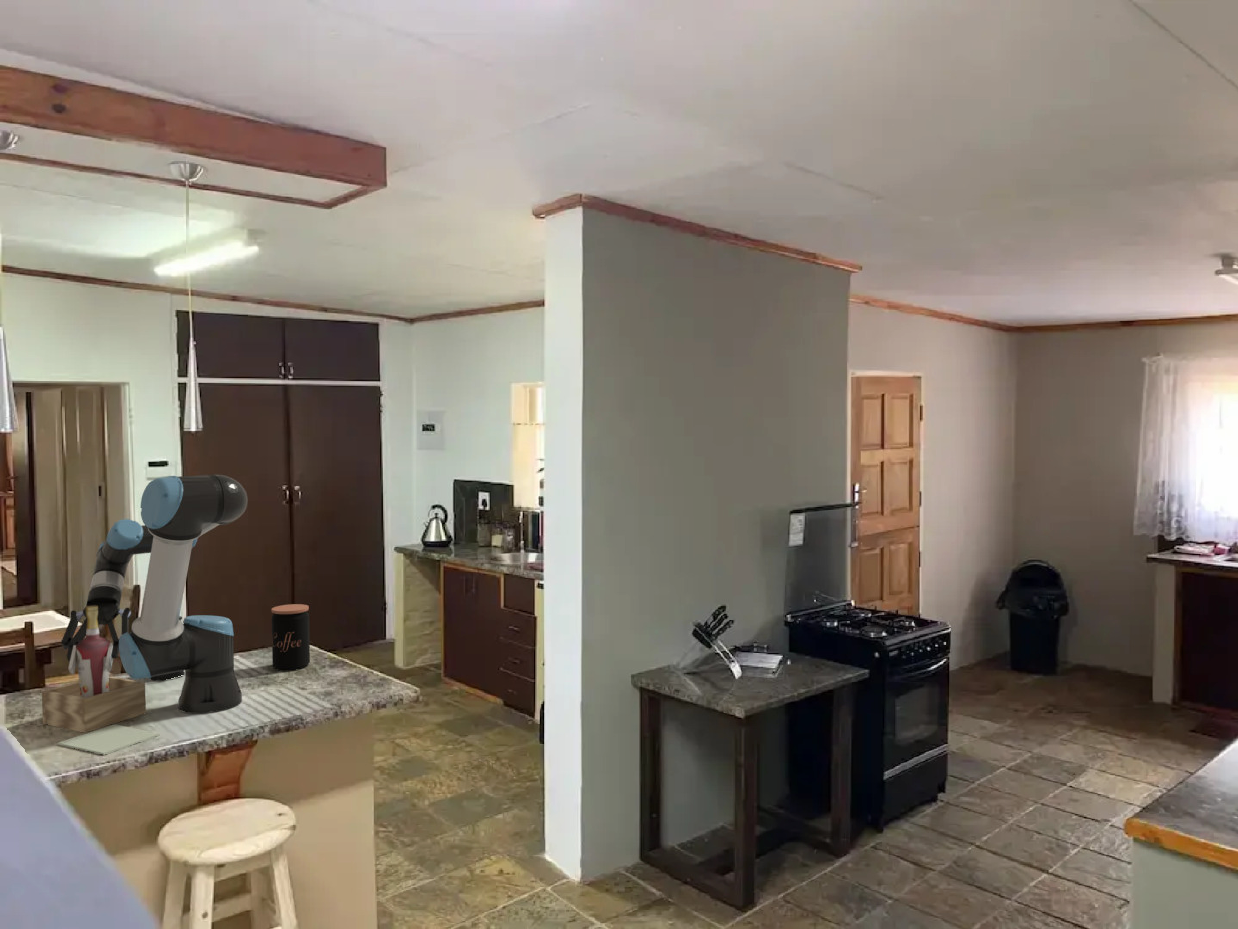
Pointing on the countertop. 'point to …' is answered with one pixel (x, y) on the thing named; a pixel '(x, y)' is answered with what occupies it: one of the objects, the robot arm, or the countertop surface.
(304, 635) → the coffee jar
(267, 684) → the countertop surface
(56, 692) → the crate
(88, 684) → the liquor
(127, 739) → the mat
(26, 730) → the countertop surface
